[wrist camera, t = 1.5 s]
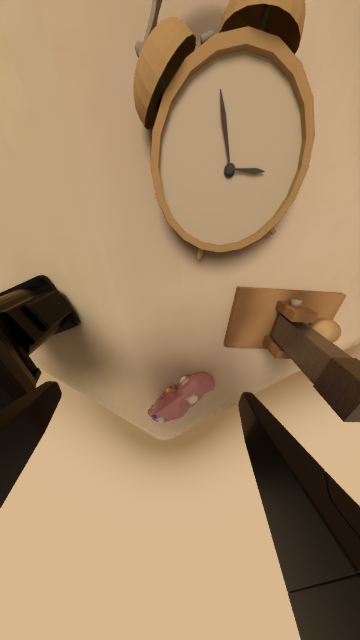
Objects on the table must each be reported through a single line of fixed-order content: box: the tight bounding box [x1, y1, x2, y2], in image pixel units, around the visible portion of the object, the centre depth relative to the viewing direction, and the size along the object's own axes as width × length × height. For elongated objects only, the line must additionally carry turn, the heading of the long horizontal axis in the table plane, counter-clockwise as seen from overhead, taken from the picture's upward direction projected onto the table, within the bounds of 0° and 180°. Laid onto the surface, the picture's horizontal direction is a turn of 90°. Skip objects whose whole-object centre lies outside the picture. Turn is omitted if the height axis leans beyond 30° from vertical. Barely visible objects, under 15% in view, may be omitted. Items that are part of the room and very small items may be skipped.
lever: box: [271, 314, 360, 422], centre depth 16 cm, size 2×3×10 cm, turn 176°
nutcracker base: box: [224, 287, 346, 359], centre depth 20 cm, size 12×8×4 cm, turn 86°
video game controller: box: [147, 373, 215, 425], centre depth 25 cm, size 10×5×7 cm, turn 136°
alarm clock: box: [134, 0, 315, 260], centre depth 12 cm, size 11×5×15 cm
